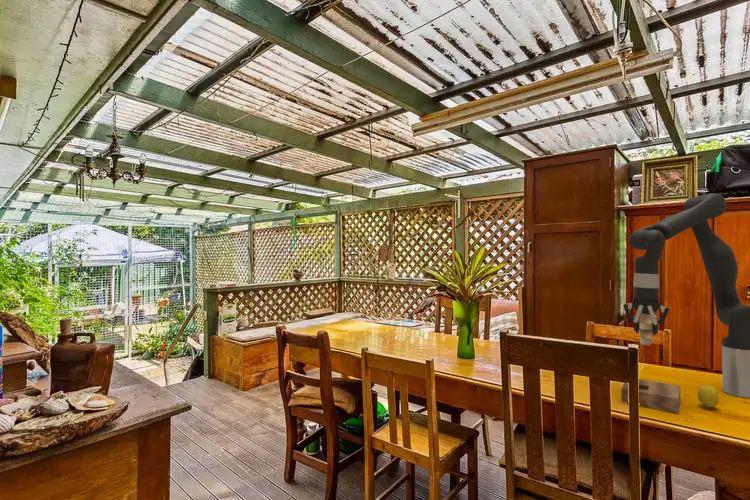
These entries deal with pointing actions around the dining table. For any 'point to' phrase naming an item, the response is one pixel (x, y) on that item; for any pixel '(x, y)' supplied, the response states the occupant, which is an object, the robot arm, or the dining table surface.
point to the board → (656, 395)
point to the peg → (645, 329)
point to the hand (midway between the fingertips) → (645, 333)
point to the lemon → (708, 396)
